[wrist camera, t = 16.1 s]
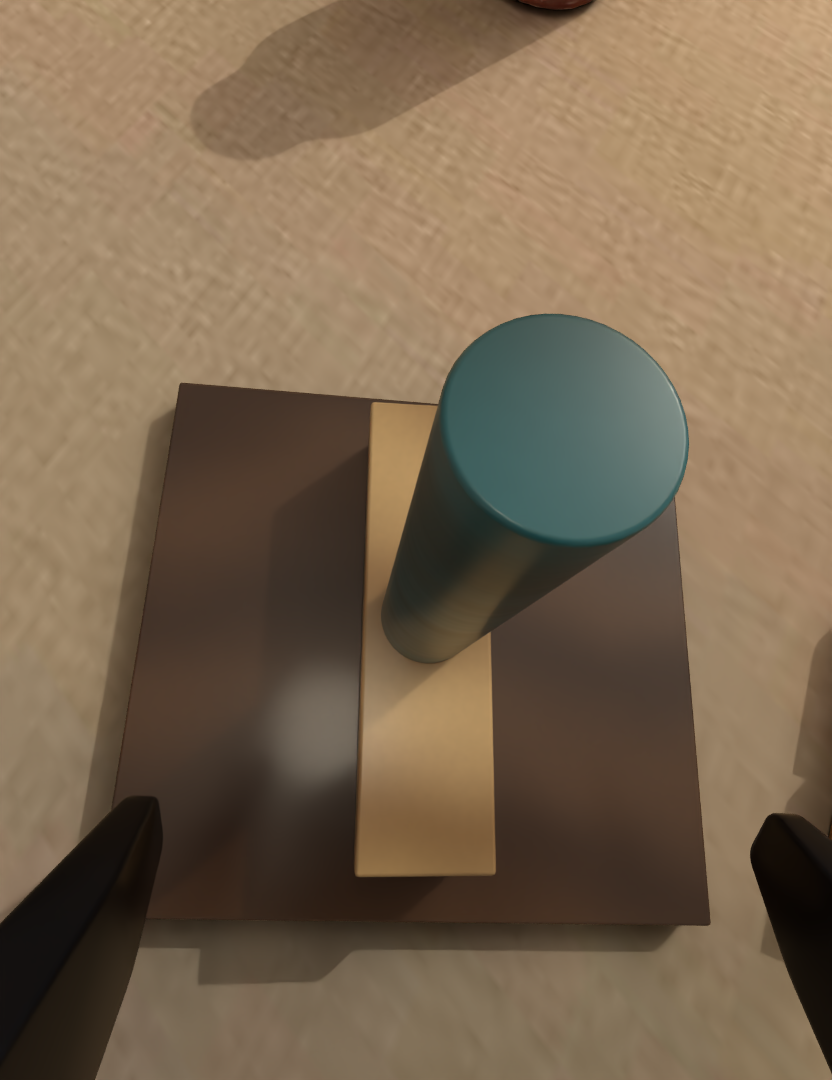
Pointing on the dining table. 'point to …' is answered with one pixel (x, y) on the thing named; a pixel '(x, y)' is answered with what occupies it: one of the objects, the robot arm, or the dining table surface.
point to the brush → (488, 560)
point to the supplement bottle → (556, 3)
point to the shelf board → (333, 699)
